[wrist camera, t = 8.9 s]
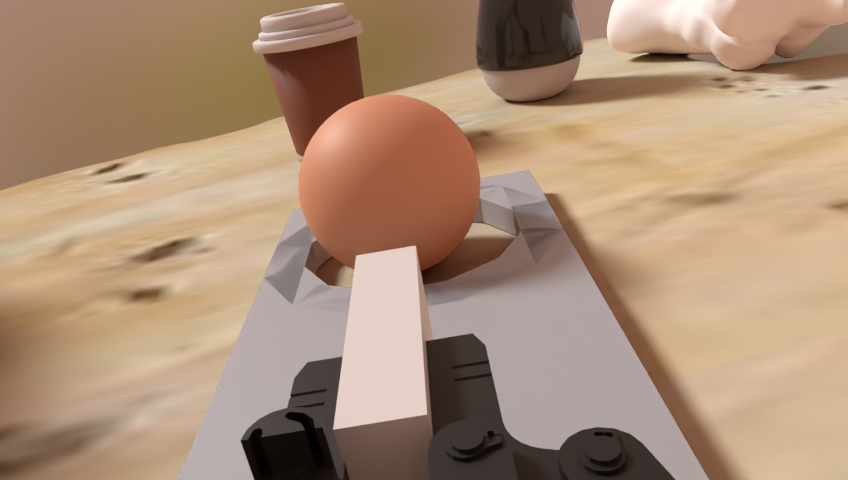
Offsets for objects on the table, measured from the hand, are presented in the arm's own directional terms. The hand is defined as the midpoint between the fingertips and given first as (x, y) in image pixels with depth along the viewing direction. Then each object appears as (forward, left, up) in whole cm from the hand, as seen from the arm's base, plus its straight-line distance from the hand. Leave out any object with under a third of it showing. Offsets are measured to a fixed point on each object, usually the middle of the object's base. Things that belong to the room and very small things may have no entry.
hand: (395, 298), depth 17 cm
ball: (-15, +8, -3) cm, 17 cm away
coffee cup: (-40, +15, -7) cm, 44 cm away
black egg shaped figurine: (-38, +36, -7) cm, 53 cm away
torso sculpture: (-29, +54, -7) cm, 61 cm away
